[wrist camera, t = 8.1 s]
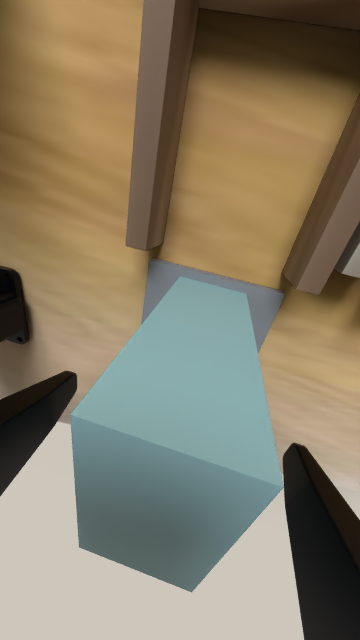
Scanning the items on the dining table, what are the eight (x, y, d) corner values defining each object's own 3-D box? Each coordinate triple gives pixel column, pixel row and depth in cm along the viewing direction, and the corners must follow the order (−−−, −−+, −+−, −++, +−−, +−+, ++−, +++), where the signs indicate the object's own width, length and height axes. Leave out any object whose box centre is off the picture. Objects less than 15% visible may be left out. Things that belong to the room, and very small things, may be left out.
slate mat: (139, 358, 17) (136, 363, 17) (152, 257, 13) (149, 259, 13) (238, 388, 16) (238, 394, 16) (283, 291, 13) (285, 294, 12)
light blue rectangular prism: (161, 365, 16) (78, 547, 7) (180, 276, 13) (70, 414, 4) (213, 381, 16) (191, 592, 7) (246, 293, 12) (283, 487, 4)
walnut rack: (147, 239, 13) (125, 246, 10) (180, -38, 8) (155, -158, 5) (384, 298, 12) (429, 323, 9) (587, 12, 7) (808, -111, 4)
